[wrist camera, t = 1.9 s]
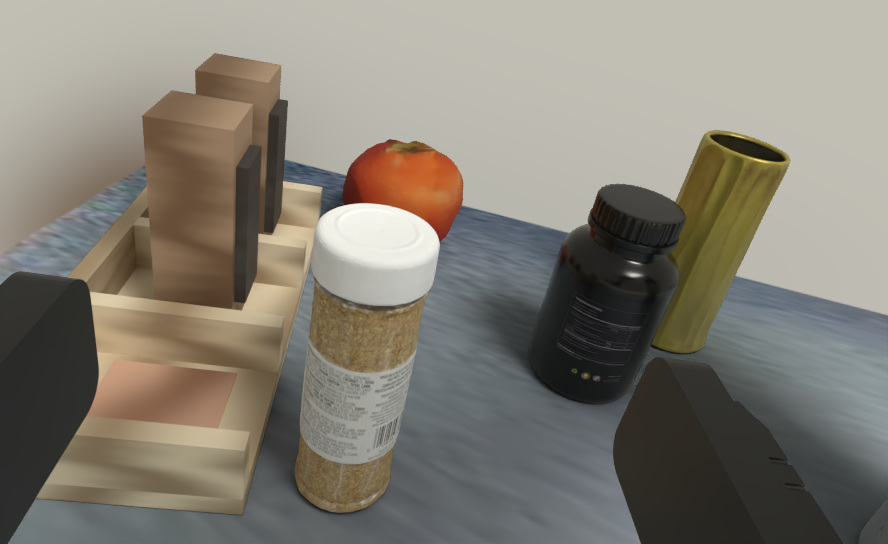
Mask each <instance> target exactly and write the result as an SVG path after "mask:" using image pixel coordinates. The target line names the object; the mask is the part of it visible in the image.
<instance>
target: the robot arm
mask: <svg viewBox="0 0 888 544" xmlns="http://www.w3.org/2000/svg"><path fill="white" fill-rule="evenodd" d="M98 379H99V364H98V355H97V347H96V338H95V330H94V321H93V313H92V304H91V296H90V291H89V288H88V285H87V283H86V282H85V281H84V280H82V279H75V278H67V277H60V276H52V275H45V274H37V273H29V272H21V271H20V272H16V273H14V274H12V275H11V276H10V277H8V278H7V279H6V280H5V281H4V282H3V283H2V284H1V285H0V544H8V542H9V541H10V539H11V537H12V536H13V534H14V532H15V531H16V529H17V528H18V526H19V524H20V523H21V521H22V520H23V518H24V516H25V515H26V513H27V511H28V510H29V508H30V507H31V505H32V503H33V502H34V500H35V498H36V497H37V495H38V494H39V492H40V490H41V489H42V487H43V486H44V484H45V482H46V481H47V479H48V477H49V476H50V474H51V473H52V471H53V469H54V468H55V466H56V464H57V463H58V461H59V460H60V458H61V456H62V455H63V453H64V452H65V450H66V448H67V447H68V445H69V443H70V442H71V440H72V439H73V437H74V435H75V434H76V432H77V430H78V429H79V427H80V426H81V424H82V422H83V421H84V419H85V418H86V416H87V414H88V412H89V410H90V408H91V406H92V403H93V401H94V398H95V394H96V390H97V386H98ZM613 458H614V465H615V470H616V473H617V476H618V479H619V482H620V485H621V487H622V490H623V493H624V496H625V499H626V502H627V505H628V507H629V510H630V513H631V516H632V519H633V522H634V525H635V528H636V530H637V533H638V536H639V539H640V542H641V544H843V543H842V541H841V540H840V538H839V537H838V535H837V534H836V532H835V530H834V529H833V527H832V526H831V524H830V523H829V521H828V520H827V518H826V517H825V515H824V514H823V512H822V511H821V509H820V508H819V506H818V505H817V503H816V502H815V500H814V499H813V497H812V496H811V494H810V492H807V491H805V490H804V483H803V482H802V480H801V479H800V477H799V476H798V474H797V473H796V471H795V470H794V468H793V467H792V466H791V465H788V464H787V460H788V459H787V458H786V456H785V454H784V453H783V451H782V450H781V448H780V447H779V445H778V444H777V442H776V441H775V439H774V438H773V436H772V435H771V433H770V432H769V430H768V429H767V428H766V427H765V426H764V425H763V424H762V423H761V422H760V421H758V420H757V419H756V418H755V417H754V416H753V415H752V414H751V413H750V412H749V411H748V410H747V409H745V408H744V407H743V406H742V405H741V404H740V403H739V402H737V401H733V400H732V399H731V397H730V395H729V394H728V392H727V391H726V389H725V387H724V386H723V384H722V383H721V381H720V379H719V378H718V376H717V375H716V373H715V372H714V370H713V369H712V368H711V367H710V366H709V365H707V364H704V363H697V362H690V361H682V360H674V359H667V358H659V357H658V358H655V359H653V360H652V361H650V362H649V364H648V365H647V367H646V369H645V371H644V373H643V375H642V377H641V379H640V381H639V383H638V385H637V388H636V390H635V392H634V394H633V396H632V398H631V400H630V402H629V405H628V407H627V409H626V411H625V413H624V415H623V417H622V419H621V422H620V424H619V426H618V428H617V431H616V434H615V438H614V446H613ZM859 544H888V499H887V500H886V501H885V502H884V504H883V505H882V506H881V507H880V508H879V510H878V511H877V512H876V513H875V514H874V515H873V517H872V518H871V519H870V520H869V521H868V523H867V524H866V525H865V526H864V527H863V529H862V530H861V534H860V538H859Z"/></svg>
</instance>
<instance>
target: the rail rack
mask: <svg viewBox="0 0 888 544" xmlns="http://www.w3.org/2000/svg"><path fill="white" fill-rule="evenodd" d="M195 77H196V94H190V93H184V92H178V91H170V93H168V94H167V95H166V96H165V97H164V98H162V99H161V100H160V101H159V102H158V103H157V104H156V105H154V106H153V107H152V108H151V109H150V110H149V111H147V112H146V113H145V114H144V115H143V116H142V118H143V133H144V148H145V163H146V178H147V187H146V188H145V189H144V190H143V191H142V192H141V194H140V195H139V196H138V197H137V198H136V199H135V200H134V202H133V203H132V204H131V205H130V206H129V207H128V208H127V210H126V211H125V212H124V213H123V214H122V215H121V216H120V218H119V219H118V220H117V221H116V222H115V223H114V224H113V226H112V227H111V228H110V229H109V230H108V231H107V232H106V234H105V235H104V236H103V237H102V238H101V239H100V240H99V242H98V243H97V244H96V245H95V246H94V247H93V248H92V250H91V251H90V252H89V253H88V254H87V255H86V256H85V258H84V259H83V260H82V261H81V262H80V263H79V264H78V266H77V267H76V268H75V269H74V270H73V271H72V272H71V274H70V275H69V276H68V277H67V278H75V279H82V280H84V281H85V282H86V283H87V285H88V288H89V291H90V296H91V304H92V313H93V321H94V330H95V338H96V347H97V355H98V364H99V379H98V386H97V390H96V394H95V398H94V401H93V403H92V406H91V408H90V410H89V412H88V414H87V416H86V418H85V419H84V421H83V422H82V424H81V426H80V427H79V429H78V430H77V432H76V434H75V435H74V437H73V439H72V440H71V442H70V443H69V445H68V447H67V448H66V450H65V452H64V453H63V455H62V456H61V458H60V460H59V461H58V463H57V464H56V466H55V468H54V469H53V471H52V473H51V474H50V476H49V477H48V479H47V481H46V482H45V484H44V486H43V487H42V489H41V490H40V492H39V494H38V495H37V497H36V498H39V499H51V500H63V501H76V502H88V503H100V504H113V505H125V506H137V507H150V508H162V509H174V510H186V511H199V512H211V513H223V514H236V515H243V511H244V508H245V504H246V500H247V497H248V493H249V489H250V485H251V482H252V478H253V474H254V471H255V467H256V463H257V459H258V456H259V452H260V448H261V445H262V441H263V437H264V433H265V430H266V426H267V422H268V419H269V415H270V411H271V407H272V404H273V400H274V396H275V393H276V389H277V385H278V381H279V378H280V374H281V370H282V367H283V363H284V359H285V356H286V352H287V348H288V344H289V341H290V337H291V333H292V330H293V326H294V322H295V318H296V315H297V311H298V307H299V304H300V300H301V296H302V292H303V289H304V285H305V281H306V278H307V274H308V270H309V266H310V263H311V259H312V250H313V241H314V233H315V228H316V225H317V223H318V221H319V219H320V209H321V198H322V188H323V187H317V186H311V185H304V184H298V183H291V182H284V181H283V176H284V159H285V141H286V123H287V107H288V101H286V100H280V99H279V98H280V79H281V65H278V64H272V63H267V62H260V61H255V60H249V59H244V58H238V57H232V56H227V55H222V54H216V53H215V54H213V55H212V56H211V57H210V58H209V59H208V60H206V61H205V62H204V63H203V64H202V65H201V66H200V67H198V68H197V69H196V70H195Z"/></svg>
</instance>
